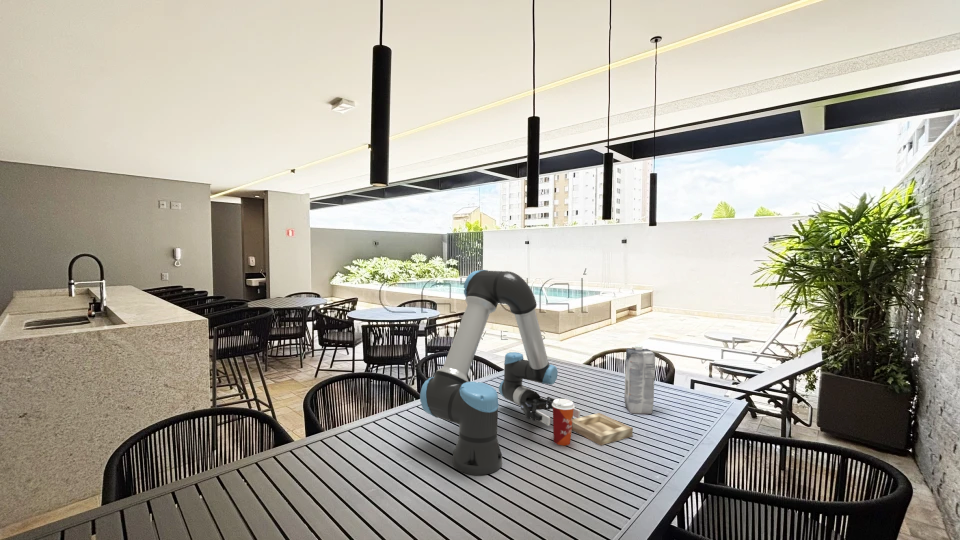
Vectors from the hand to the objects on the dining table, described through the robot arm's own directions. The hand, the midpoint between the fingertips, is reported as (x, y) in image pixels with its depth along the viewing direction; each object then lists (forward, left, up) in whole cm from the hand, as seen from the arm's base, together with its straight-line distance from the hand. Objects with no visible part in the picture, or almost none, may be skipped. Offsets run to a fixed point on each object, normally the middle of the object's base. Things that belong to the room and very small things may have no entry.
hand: (564, 417), depth 141 cm
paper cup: (-1, 0, -9) cm, 9 cm away
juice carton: (+48, +8, -9) cm, 50 cm away
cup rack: (+17, 0, -8) cm, 19 cm away
